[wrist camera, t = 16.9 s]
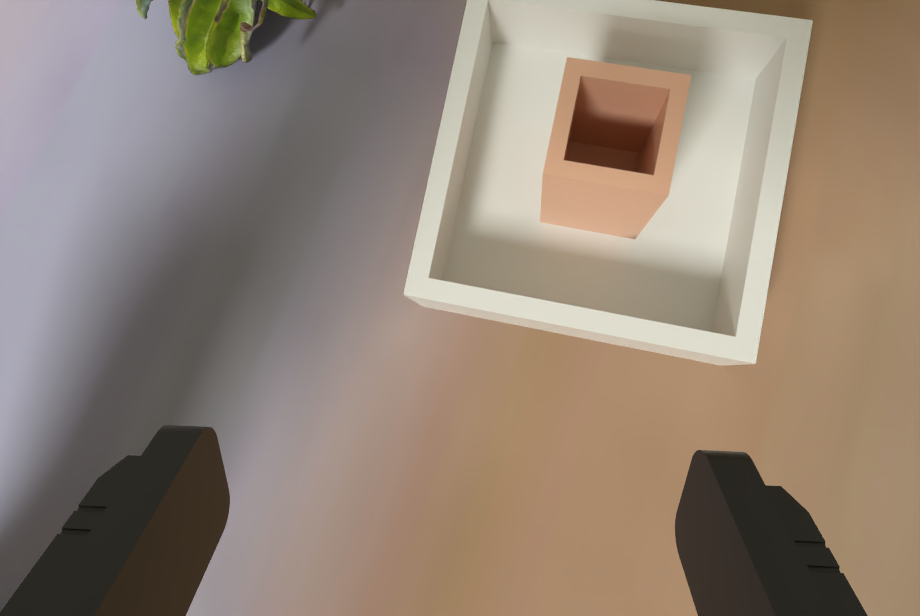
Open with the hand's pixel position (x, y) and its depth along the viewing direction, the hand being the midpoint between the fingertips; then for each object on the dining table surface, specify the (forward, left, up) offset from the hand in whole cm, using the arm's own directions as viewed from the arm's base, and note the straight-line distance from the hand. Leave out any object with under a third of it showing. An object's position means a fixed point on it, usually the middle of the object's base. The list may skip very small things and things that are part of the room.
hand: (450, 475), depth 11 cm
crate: (+2, +12, -23) cm, 26 cm away
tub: (+2, +12, -22) cm, 25 cm away
